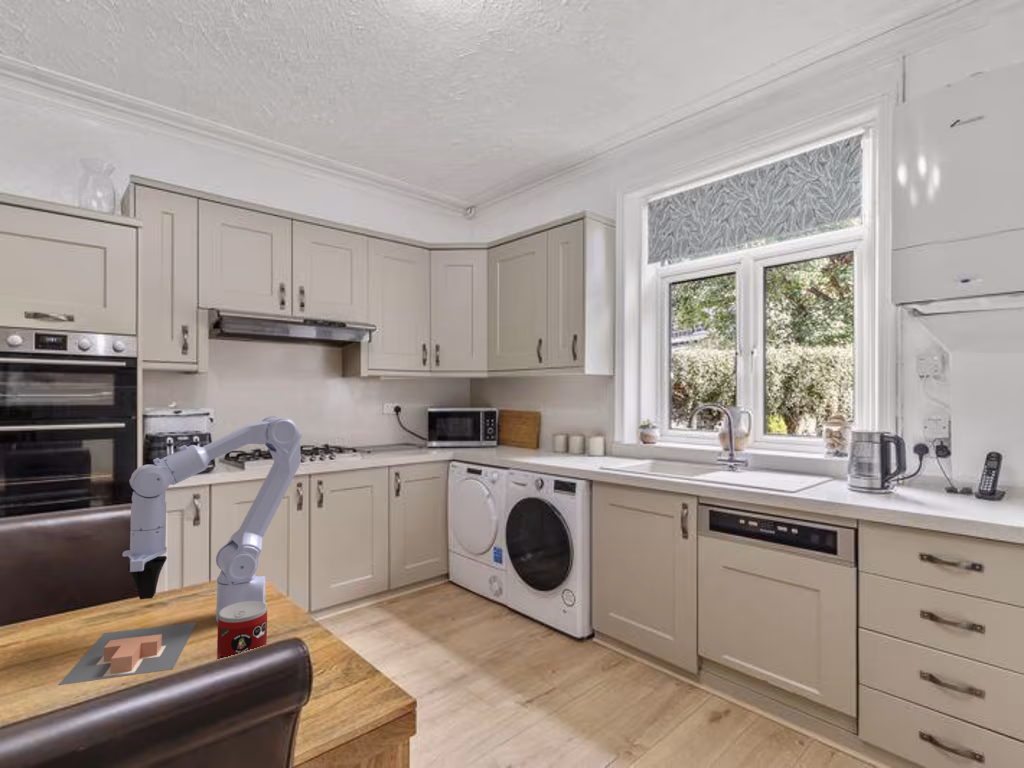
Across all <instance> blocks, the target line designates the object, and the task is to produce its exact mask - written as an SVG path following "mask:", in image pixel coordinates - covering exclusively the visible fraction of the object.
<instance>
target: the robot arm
mask: <svg viewBox="0 0 1024 768" xmlns="http://www.w3.org/2000/svg"><path fill="white" fill-rule="evenodd" d="M301 439H302V433H301V432H300V430H299V427H298V426H297V424H296V422H295V421H293V420H292V419H290V418H286V417H277V416H268V417H265V418H263V419H262V420H261V419H260V420H256V421H253V422H250V423H249V424H246V425H244V426H242V427H240V428H238V429H236V430H234V431H232V432H230V433H228V434H226V435H224V436H222V437H220V438H218V439H215V440H213V441H212V442H210V443H208V444H206V445H204V446H198V445H194V444H191V445H189V446H187V445H186V444H184V445H181V446H179V447H178V450H177V451H175V452H174V453H171V454H169V455H167V456H165V457H162V458H160V457H156V458H154V459H153V460H152V461H153V463H154V464H149V463H148V464H144V465H141V466H139V467H137V468H136V469H135V470H134V471H133V472H132V474H131V477H130V479H129V480H128V481H129V482H128V483H129V486H130V487H131V488H132V490H134V491H132V495H131V502H132V503H131V505H130V532H129V533H130V538H129V541H130V542H129V550H124V551H123V552H122V557H128V558H129V563H128V564H127V570H128V571H127V572H129V573H130V575H131V577H132V578H133V581H134V583H135V586H136V591H137V594H138V598H139V600H148V599H153V598H154V596H155V594H156V591H157V590H156V589H157V585H158V582H159V577H160V574H161V572H162V569H163V568H164V565H165V563H166V562H167V558H168V557H167V556H166V555H164V554H166V553H167V552H168V551H167V549H168V548H167V546H166V542H167V541H166V539H167V538H166V536H167V532H166V531H167V530H166V529H167V524H166V523H167V502H166V491H167V490H168V489H169V487H170V486H171V485H172V486H174V485H177V484H179V483H180V482H183V481H185V480H187V479H189V478H191V477H194V476H195V475H197V474H200V473H202V472H204V471H205V470H207V469H208V465H209V464H210V462H211V461H213V460H215V459H216V458H219V457H222V456H224V455H227V454H229V453H231V452H233V451H235V450H236V451H237V450H238V449H239V448H242V447H245V446H247V445H264V446H266V448H267V449H268V451H269V453H270V455H271V457H272V460H273V464H272V466H271V468H270V470H269V472H268V474H267V476H266V477H265V479H264V481H263V483H262V484H261V487H260V489H259V490H258V492H257V494H256V496H255V498H254V500H253V502H252V504H251V506H250V507H249V509H248V511H247V514H246V516H245V517H244V519H243V521H242V522H241V525H240V527H239V528H238V529H237V530H236V531H235V532H234V533H233V534H232V535H231V537H230V538H229V540H228V541H227V543H226V544H224V545H223V546H222V547H220V549H219V550H218V552H217V554H216V557H215V563H216V566H217V567H218V569H220V573H219V575H218V576H217V579H216V606H215V607H216V610H215V611H216V612H215V619H216V623H218V615H219V612H220V610H222V609H223V608H225V607H227V606H229V605H232V604H235V603H239V602H245V601H259V602H263V603H265V604H266V605H267V602H266V576H265V575H262V576H259V575H256V572H257V570H258V568H259V557H260V554H261V552H262V550H263V549H262V548H263V539H264V536H265V533H266V532H267V530H268V528H269V526H270V524H271V522H272V520H273V518H274V516H275V515H276V512H277V510H278V509H279V506H280V505H281V503H282V501H283V498H284V497H285V494H286V492H287V491H288V488H289V486H290V485H291V484H292V482H293V479H294V477H295V475H296V473H297V471H298V469H299V467H300V466H301V465H300V464H301V462H302V457H301V456H302V455H301Z"/></svg>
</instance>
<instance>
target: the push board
mask: <svg viewBox="0 0 1024 768" xmlns="http://www.w3.org/2000/svg"><path fill="white" fill-rule="evenodd" d="M196 625H197V622H196V621H195V622H189V623H180V624H172V625H162V626H154V627H145V628H136V629H128V630H120V631H111V632H110V631H109V632H103V633H102V635H101V636H100V637H99V638H98V639H97V640H96V641H95V642H94V644H93V645H91V647H90V648H89V649H88V651H87V652H86V653H85V654H84V655H83V656H82V657H81V658H80V660H79V661H78V662H77V663H76V664H75V665H74V666H73V667H72V668H71V670H70V671H69V672H68V673H67V674H66V675H65V677H64V678H63V679H62V680H61V681H60V682H59V683H58V686H61V685H63V686H64V685H69V684H71V685H72V684H76V683H83V682H90V681H99V680H105V679H106V680H107V679H113V678H114V679H115V678H118V677H119V678H121V677H126V676H134V675H142V674H148V673H155V672H162V671H163V672H164V671H169V670H174V668H175V667H176V663H177V662H178V660H179V658H180V656H181V655H182V653H183V651H184V650H185V649H184V648H185V646H186V644H187V643H188V642H189V641H188V640H189V639H190V637H191V635H192V633H193V631H194V630H195V627H196ZM159 634H162V643H161V649H160V651H159V653H158V654H157V655H154V656H147V657H140V659H139V660H138V662H137V663H136V665H135V666H134V668H133V670H132V671H127V672H119V673H112V674H111V661H108V662H104V647H105V646H106V645H107V644H108V642H109V641H110V640H117V639H125V638H134V637H142V636H151V635H159Z"/></svg>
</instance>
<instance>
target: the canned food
mask: <svg viewBox="0 0 1024 768" xmlns="http://www.w3.org/2000/svg"><path fill="white" fill-rule="evenodd" d="M267 634H268V605H267V603H266V604H265V603H263V602H259V601H245V602H239V603H235V604H232V605H229V606H227V607H225V608H223V609H222V610H220V612H219V615H218V622H217V636H216V637H217V640H216V642H217V643H216V644H217V645H216V646H217V648H216V660H217V659H220V658H224V657H228V656H231V655H235V654H238V653H241V652H244V651H247V650H250V649H254V648H257V647H260V646H263V645H266V646H267V639H268V638H267V636H268V635H267Z"/></svg>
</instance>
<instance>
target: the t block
mask: <svg viewBox="0 0 1024 768" xmlns="http://www.w3.org/2000/svg"><path fill="white" fill-rule="evenodd" d="M161 643H162V634H159V635H151V636H142V637H134V638H125V639H117V640H110V641H109V642H108V644H107V645H106V646H105V647H104V662H108V661H111V674H112V673H119V672H127V671H132V670H133V668H134V666H135V665H136V663H137V662H138V660H139V659H140V657H147V656H154V655H157V654H158V653H159V651H160V649H161Z"/></svg>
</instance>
